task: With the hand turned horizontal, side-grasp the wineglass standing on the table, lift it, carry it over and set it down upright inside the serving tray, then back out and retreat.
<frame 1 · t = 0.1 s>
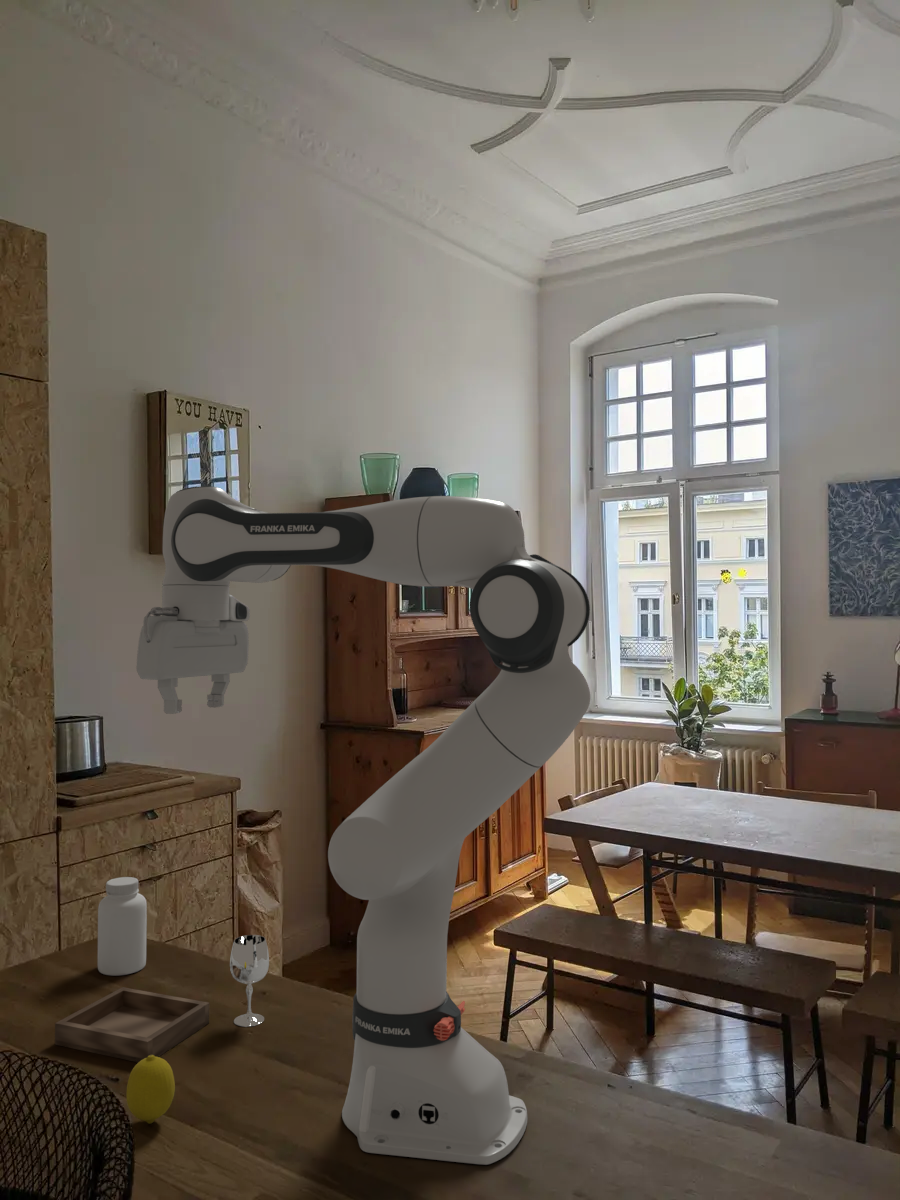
hand: (194, 710, 127), 48 cm above the table, tool pointing down, fingers open, 8 cm apart
tray: (134, 1033, 137), on the table
lemon: (150, 1124, 113), on the table
wineglass: (249, 1021, 142), on the table
pill bottle: (121, 969, 163), on the table
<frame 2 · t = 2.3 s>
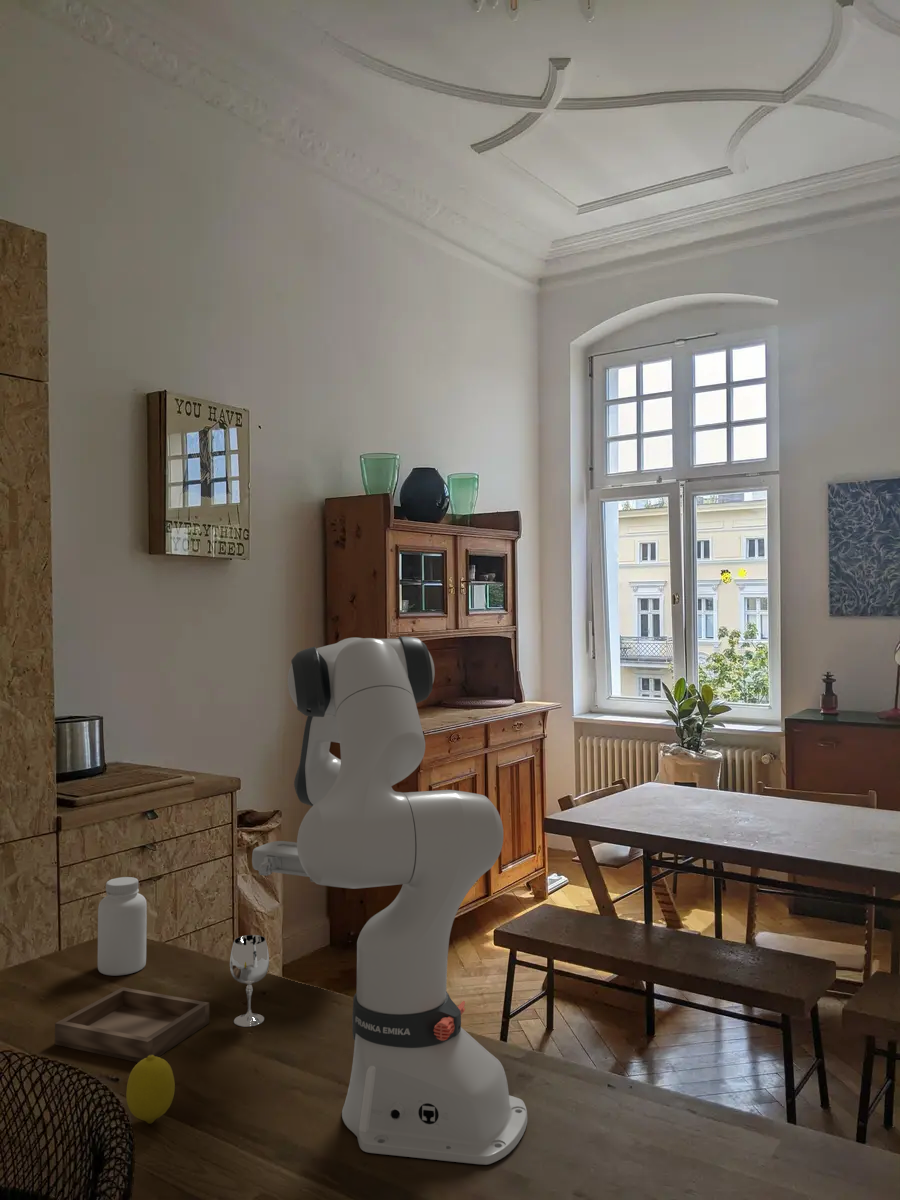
hand: (287, 873, 153), 19 cm above the table, tool horizontal, fingers open, 8 cm apart
nothing on the table moved.
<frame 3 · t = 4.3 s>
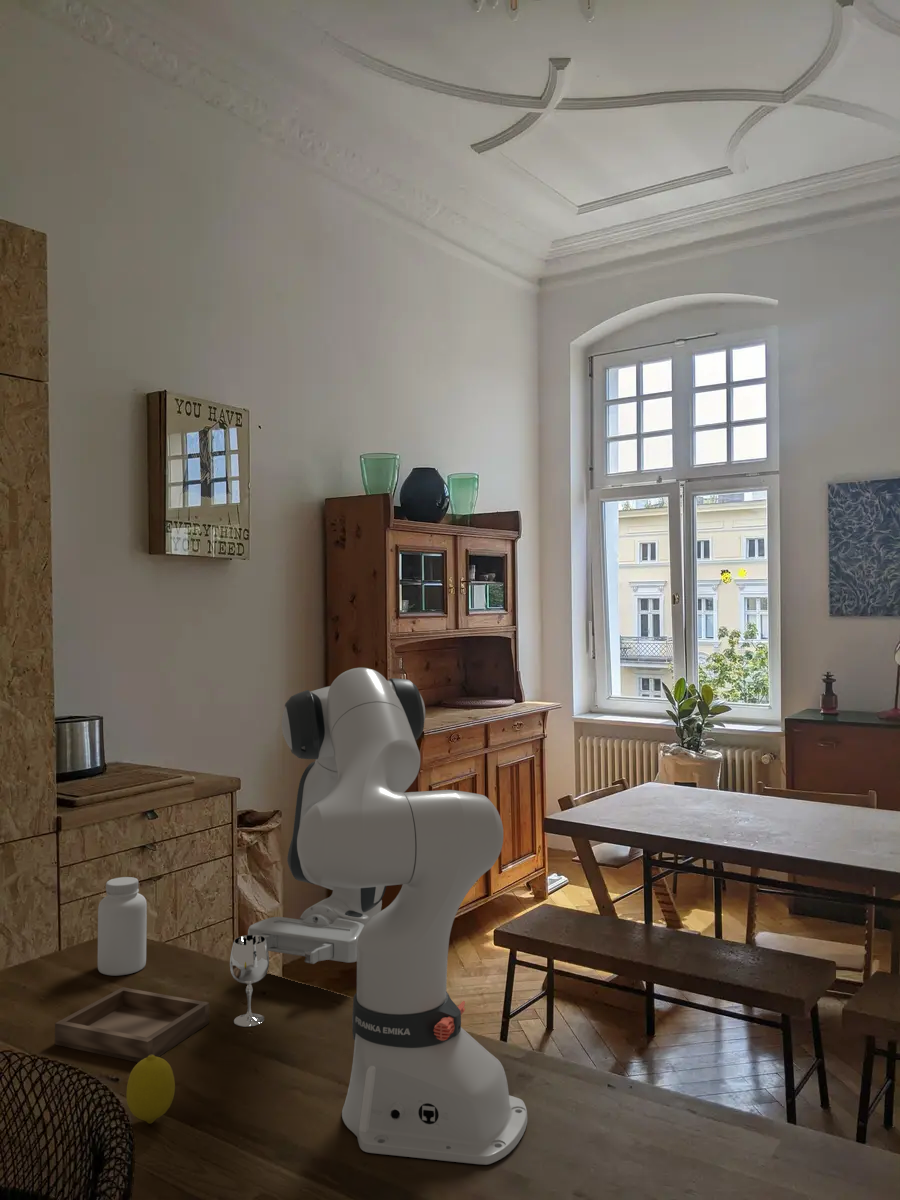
hand: (282, 954, 151), 7 cm above the table, tool horizontal, fingers open, 8 cm apart
nothing on the table moved.
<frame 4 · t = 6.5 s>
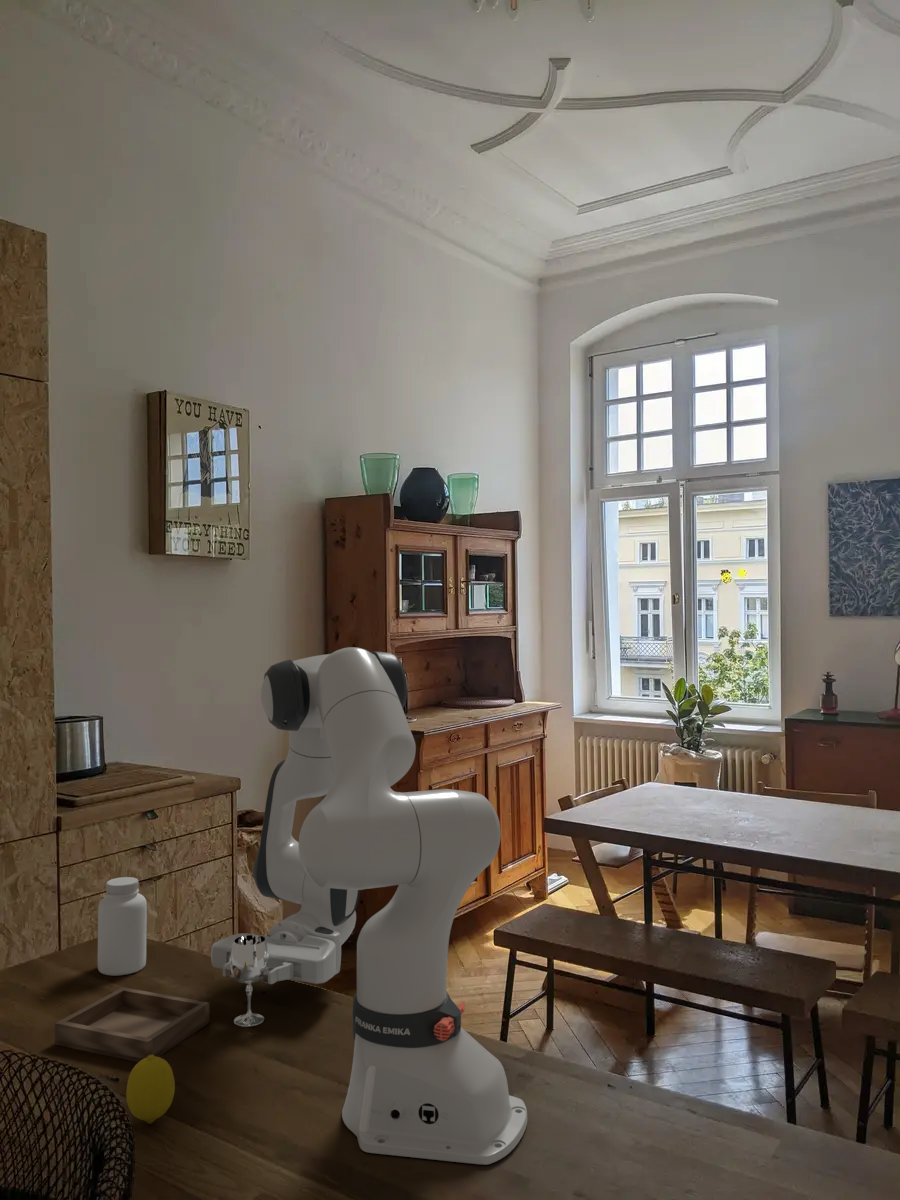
hand: (246, 975, 141), 7 cm above the table, tool horizontal, fingers closed on wineglass, 6 cm apart
wineglass: (249, 1021, 142), on the table, touching gripper
everything else where it was.
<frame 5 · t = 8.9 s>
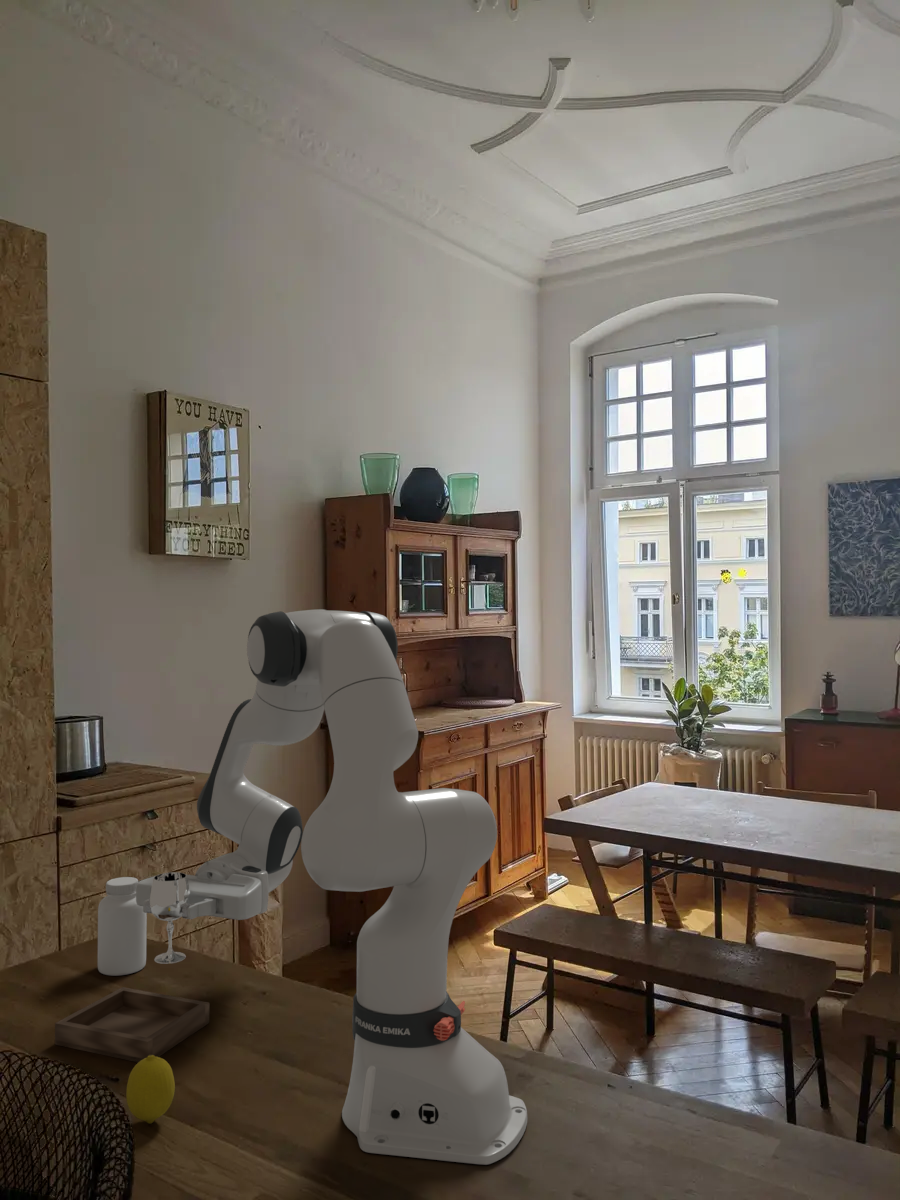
hand: (166, 910, 138), 17 cm above the table, tool horizontal, fingers closed on wineglass, 6 cm apart
wineglass: (170, 959, 139), point 10 cm above the table, touching gripper
everything else where it was.
when the fingers open (8 cm above the table, at t = 11.5 s): wineglass moves 1 cm, resting on tray.
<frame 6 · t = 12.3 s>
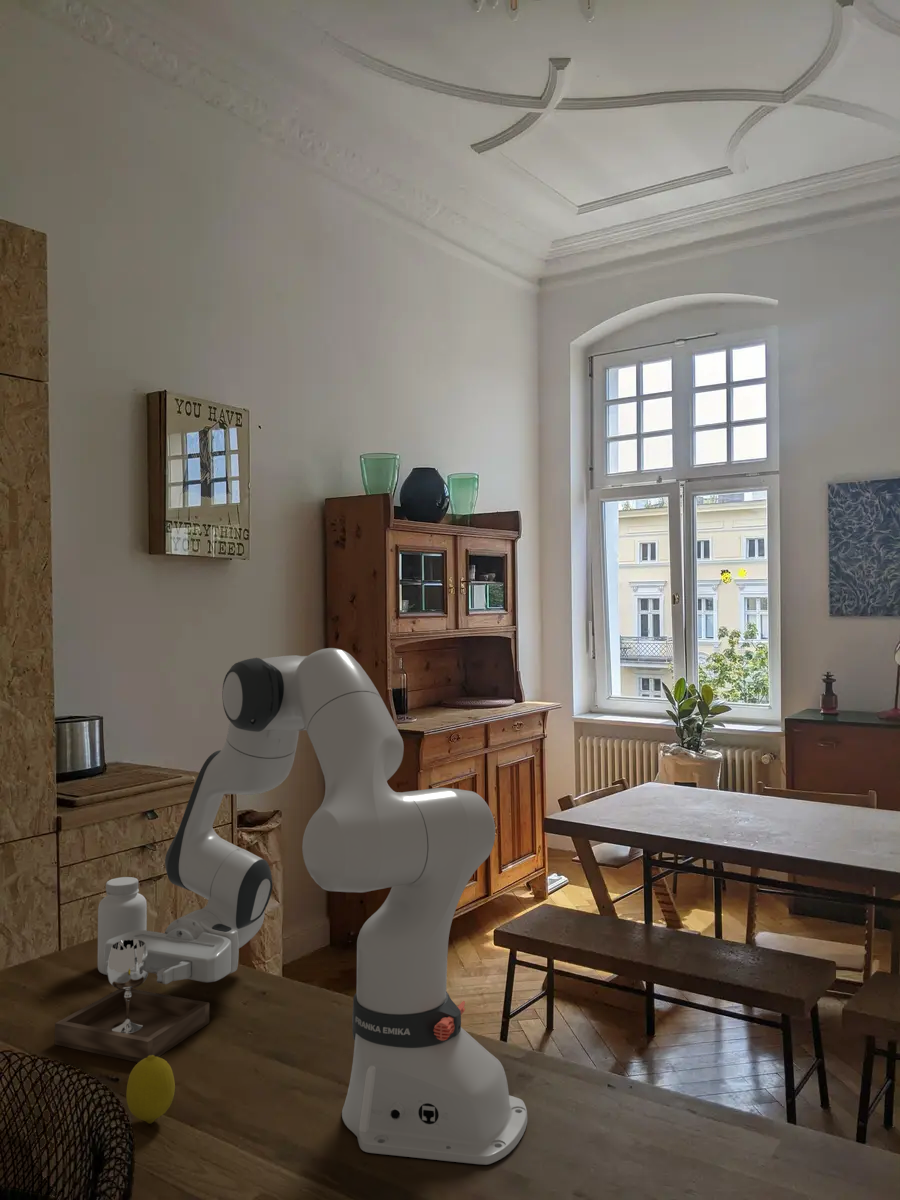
hand: (134, 973, 137), 9 cm above the table, tool horizontal, fingers open, 8 cm apart
wineglass: (127, 1029, 138), resting on tray, touching gripper
everything else where it was.
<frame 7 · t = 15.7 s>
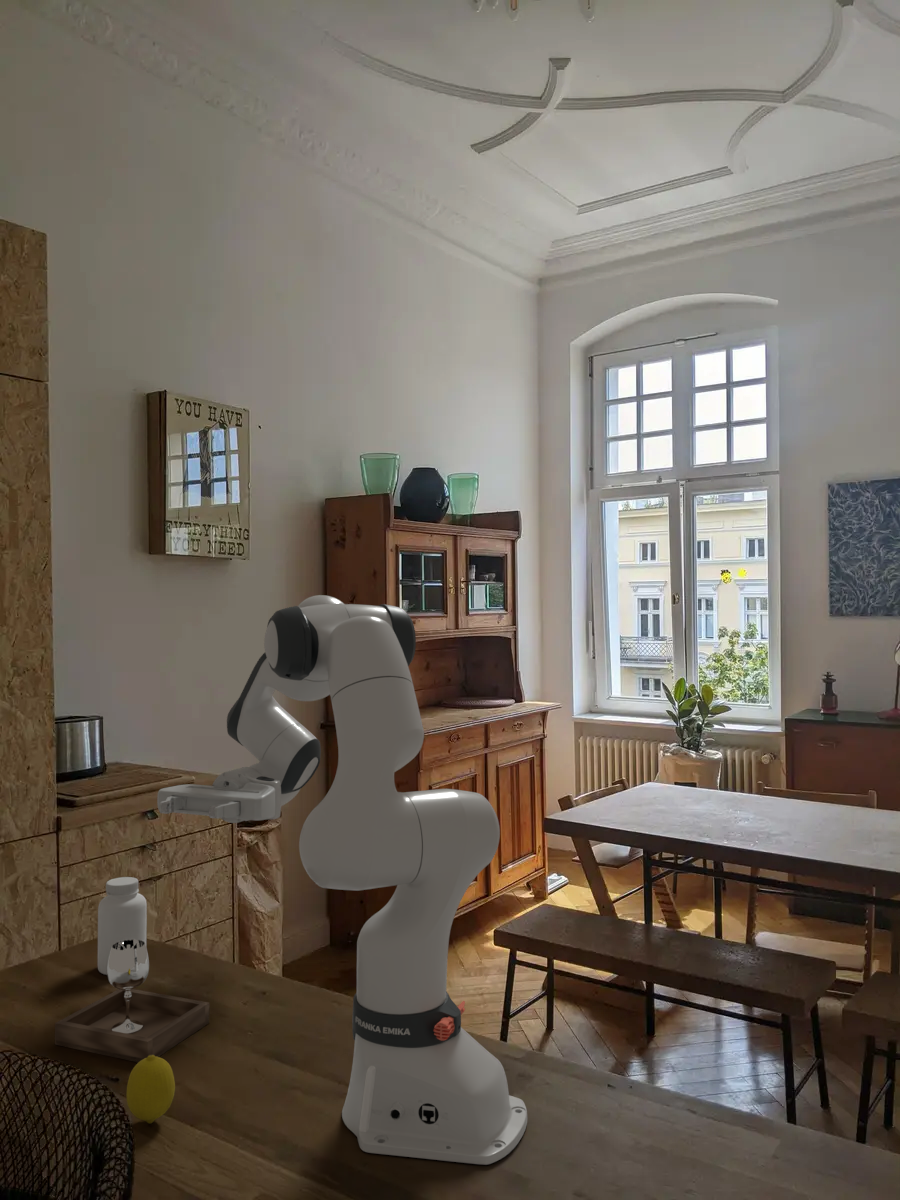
hand: (187, 810, 149), 30 cm above the table, tool horizontal, fingers open, 8 cm apart
wineglass: (127, 1029, 138), resting on tray
everything else where it was.
at the end: wineglass inside the target area on the tray (1.3 cm from its centre), point 0.4 cm above the tray's base; wineglass tilted 0°; the gripper is holding nothing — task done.
